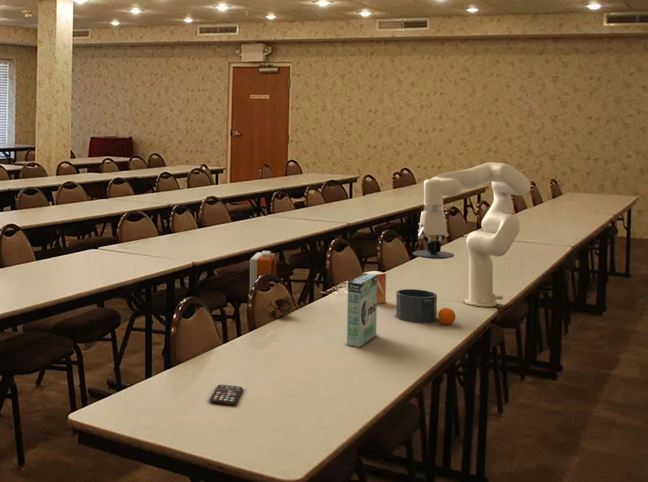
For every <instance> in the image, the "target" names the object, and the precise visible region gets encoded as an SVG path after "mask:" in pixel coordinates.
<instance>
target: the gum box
mask: <svg viewBox="0 0 648 482" xmlns="http://www.w3.org/2000/svg"><path fill="white" fill-rule="evenodd" d="M364 273H365V272H364ZM377 305H378V304H377V275H375V274H367V273H365V274H363V273H362V274H361V275H360V276H358V277H355V278H354V279H352V280H349V281H348V282H347V316H346V317H347V318H346V320H347V321H346V322H347V323H346V346H350V347H357V348H360V347H362V346H363V345H365V344H366V343H367V342H368V341H370V340H371V339H373V338H374V337H376V336H377V313H378V311H377V309H378V308H377V307H378V306H377Z"/></svg>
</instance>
